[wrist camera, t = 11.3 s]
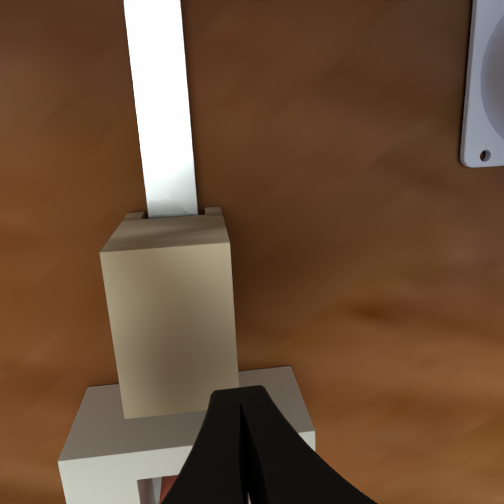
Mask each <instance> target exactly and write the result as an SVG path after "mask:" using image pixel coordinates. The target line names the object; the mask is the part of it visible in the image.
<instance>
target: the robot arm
mask: <svg viewBox="0 0 504 504" xmlns="http://www.w3.org/2000/svg"><path fill="white" fill-rule="evenodd" d="M482 151H485V154H486V155H485V158H484V159H483V160H480V154H481V152H482ZM460 161H461V163H462V164H463V165H464V166H466V167H472V168H475V167H491V166H504V0H473V8H472V19H471V31H470V43H469V55H468V67H467V79H466V91H465V103H464V115H463V127H462V139H461V151H460ZM248 494H249V498H250V503H251V504H377V503H376V502H375V501H373V500H372V499H370V498H369V497H367V496H366V495H364V494H363V493H362V492H360V491H359V490H358V489H356V488H355V487H354V486H353V485H351V484H350V483H349V482H348V481H346V480H345V479H344V478H343V477H342V476H340V475H339V474H338V473H337V472H336V471H335V470H334V469H332V468H331V467H330V466H329V465H328V464H327V463H326V462H325V461H324V460H323V459H322V458H321V457H320V456H319V455H318V454H317V453H316V452H315V451H314V450H313V449H312V448H311V447H310V446H309V445H308V444H307V443H306V442H305V441H304V440H303V438H302V437H301V436H300V435H299V434H298V433H297V432H296V430H295V429H294V428H293V427H292V426H291V424H290V423H289V422H288V421H287V419H286V418H285V417H284V416H283V414H282V413H281V412H280V410H279V409H278V407H277V406H276V405H275V403H274V402H273V400H272V399H271V397H270V395H269V394H268V392H267V390H266V388H265V387H263V386H262V385H255V386H247V387H238V388H230V389H222V390H214V392H213V393H212V394H211V395H210V401H209V405H208V409H207V412H206V415H205V418H204V421H203V424H202V426H201V429H200V431H199V433H198V436H197V438H196V440H195V443H194V445H193V447H192V449H191V451H190V453H189V455H188V457H187V459H186V461H185V463H184V465H183V467H182V469H181V471H180V473H179V474H178V476H177V478H176V480H175V481H174V483H173V485H172V486H171V488H170V490H169V491H168V493H167V494H166V496H165V497H164V499H163V501H162V502H161V504H248Z"/></svg>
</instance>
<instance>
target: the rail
mask: <svg viewBox="0 0 504 504" xmlns="http://www.w3.org/2000/svg"><path fill="white" fill-rule="evenodd" d="M124 8H125V17H126V26H127V34H128V43H129V52H130V60H131V69H132V78H133V86H134V95H135V104H136V112H137V121H138V130H139V138H140V147H141V156H142V164H143V173H144V182H145V190H146V199H147V208H148V216H149V219H152V218H166V217H181V216H195V215H198V204H197V192H196V180H195V168H194V156H193V144H192V132H191V120H190V108H189V96H188V84H187V72H186V60H185V47H184V35H183V23H182V11H181V0H124Z"/></svg>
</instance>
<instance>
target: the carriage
mask: <svg viewBox="0 0 504 504" xmlns="http://www.w3.org/2000/svg"><path fill="white" fill-rule="evenodd" d="M100 259H101V266H102V272H103V279H104V286H105V292H106V299H107V305H108V312H109V319H110V325H111V332H112V339H113V345H114V352H115V358H116V365H117V372H118V378H119V385H120V392H121V398H122V405H123V411H124V418H125V419H131V418H140V417H149V416H158V415H167V414H176V413H185V412H194V411H203V410H207V409H208V405H209V401H210V395H211V394H212V393H213V392H214V390H222V389H230V388H238V387H239V377H238V362H237V346H236V330H235V315H234V299H233V283H232V267H231V252H230V241H229V237H228V233H227V229H226V226H225V222H224V218H223V214H222V210H221V206H217V207H205V215H195V216H181V217H166V218H152V219H145V211H144V212H129V213H128V214H127V215H126V216H125V218H124V219H123V221H122V222H121V223H120V225H119V226H118V228H117V229H116V230H115V232H114V233H113V234H112V236H111V237H110V239H109V240H108V241H107V243H106V244H105V246H104V247H103V248H102V250H101V251H100Z"/></svg>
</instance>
